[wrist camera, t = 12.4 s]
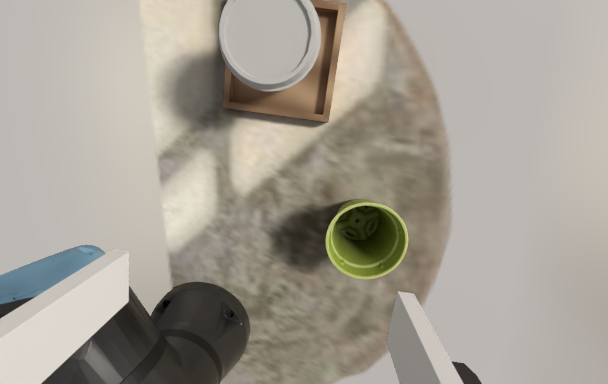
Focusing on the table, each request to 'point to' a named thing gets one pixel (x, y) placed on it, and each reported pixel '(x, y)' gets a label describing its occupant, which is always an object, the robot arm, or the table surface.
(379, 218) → the plant pot
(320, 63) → the tray
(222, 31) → the disposable coffee cup
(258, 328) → the table surface
